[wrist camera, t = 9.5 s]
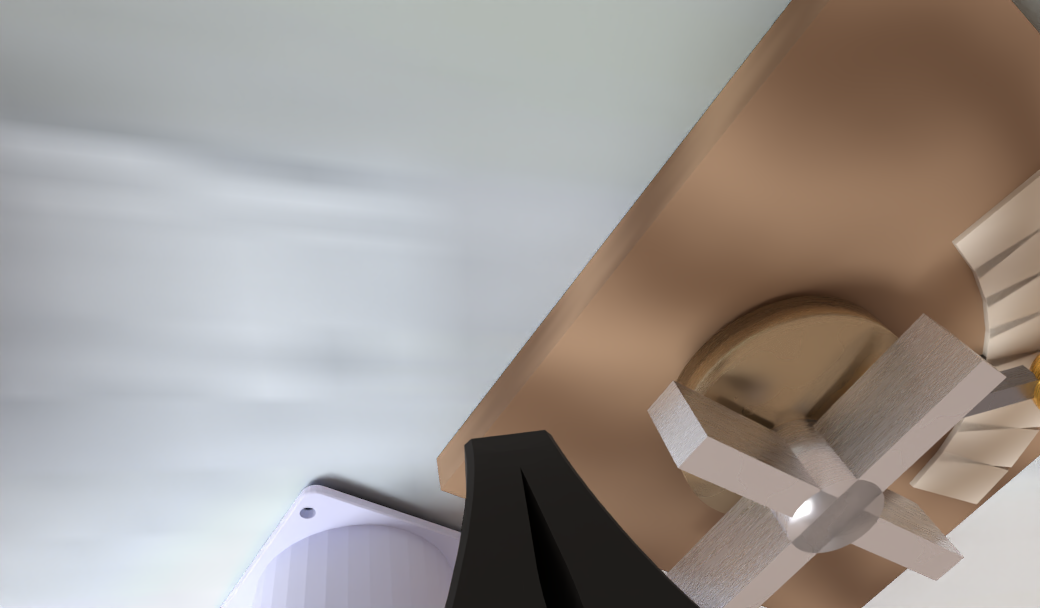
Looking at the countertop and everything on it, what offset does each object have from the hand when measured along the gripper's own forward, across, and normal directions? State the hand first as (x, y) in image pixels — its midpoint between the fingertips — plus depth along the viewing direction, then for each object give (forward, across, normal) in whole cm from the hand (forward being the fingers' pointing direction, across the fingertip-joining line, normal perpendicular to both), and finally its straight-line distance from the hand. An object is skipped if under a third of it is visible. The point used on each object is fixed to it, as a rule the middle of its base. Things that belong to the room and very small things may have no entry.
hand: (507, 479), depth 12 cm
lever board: (+10, -14, +6) cm, 19 cm away
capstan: (+9, -12, +7) cm, 17 cm away
